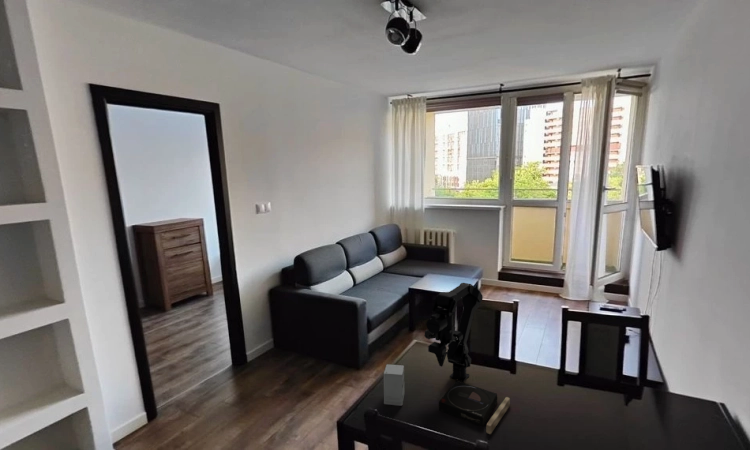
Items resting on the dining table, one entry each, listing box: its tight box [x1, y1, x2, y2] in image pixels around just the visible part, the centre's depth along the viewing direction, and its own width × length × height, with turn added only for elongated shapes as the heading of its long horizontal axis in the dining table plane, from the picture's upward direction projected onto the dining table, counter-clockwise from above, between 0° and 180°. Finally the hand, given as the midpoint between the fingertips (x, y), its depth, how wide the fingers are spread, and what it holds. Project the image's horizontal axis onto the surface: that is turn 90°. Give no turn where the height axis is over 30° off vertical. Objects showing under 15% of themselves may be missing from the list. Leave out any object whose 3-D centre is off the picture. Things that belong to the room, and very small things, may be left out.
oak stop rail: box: [485, 396, 511, 435], centre depth 125 cm, size 19×1×3 cm, turn 141°
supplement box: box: [383, 363, 405, 406], centre depth 137 cm, size 7×7×13 cm
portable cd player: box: [438, 380, 498, 428], centre depth 132 cm, size 16×17×4 cm
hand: (446, 361), depth 142 cm, fingers open, 8 cm apart
